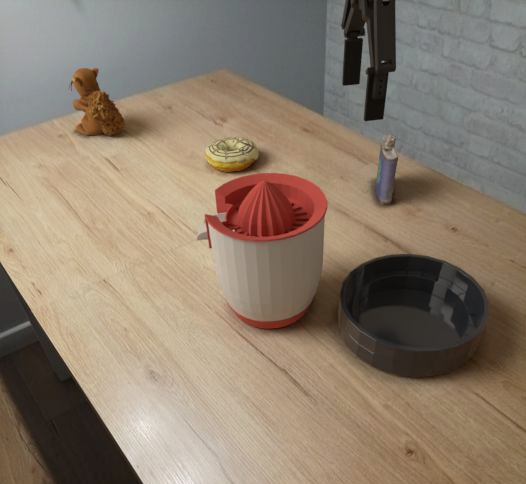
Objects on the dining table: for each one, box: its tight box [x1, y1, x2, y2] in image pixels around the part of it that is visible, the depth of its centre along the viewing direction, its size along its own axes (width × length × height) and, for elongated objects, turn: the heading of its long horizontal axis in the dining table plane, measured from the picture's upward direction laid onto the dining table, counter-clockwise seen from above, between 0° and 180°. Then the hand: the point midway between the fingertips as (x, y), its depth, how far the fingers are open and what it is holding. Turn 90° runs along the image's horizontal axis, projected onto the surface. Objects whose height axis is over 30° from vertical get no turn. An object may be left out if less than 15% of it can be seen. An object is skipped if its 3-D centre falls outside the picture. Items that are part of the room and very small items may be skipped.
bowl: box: [337, 253, 490, 378], centre depth 71 cm, size 19×19×6 cm
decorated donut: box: [204, 136, 260, 173], centre depth 106 cm, size 10×11×4 cm
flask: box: [374, 134, 399, 206], centre depth 93 cm, size 9×3×11 cm, turn 174°
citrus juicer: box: [196, 172, 328, 329], centre depth 70 cm, size 16×17×20 cm
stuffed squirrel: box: [68, 67, 127, 137], centre depth 116 cm, size 10×14×13 cm
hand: (361, 101), depth 79 cm, fingers open, 13 cm apart
